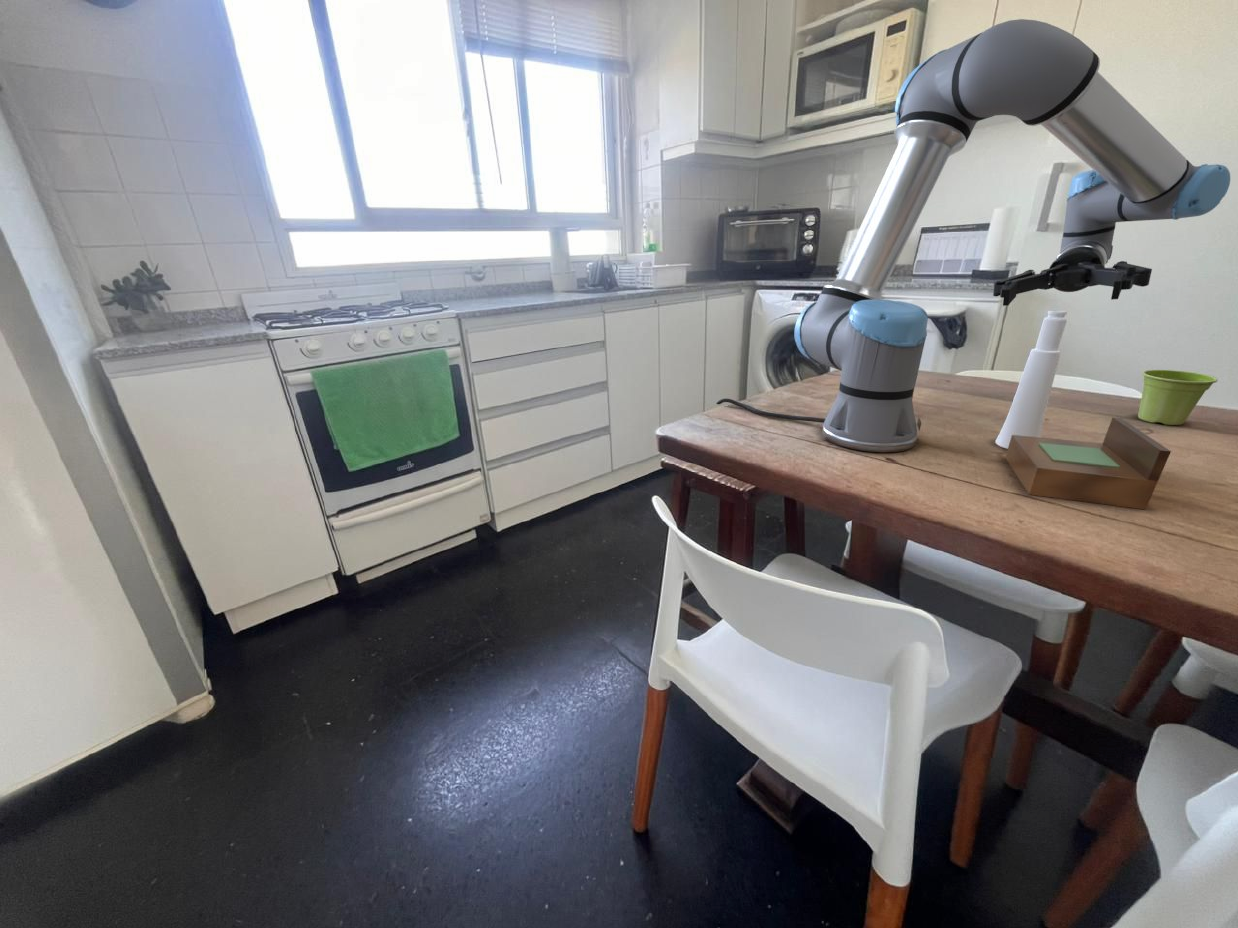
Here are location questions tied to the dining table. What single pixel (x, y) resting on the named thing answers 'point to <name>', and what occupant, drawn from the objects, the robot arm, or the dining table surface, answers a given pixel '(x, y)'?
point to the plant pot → (1171, 395)
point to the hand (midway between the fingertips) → (1057, 294)
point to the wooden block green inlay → (1091, 466)
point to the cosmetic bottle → (1035, 383)
